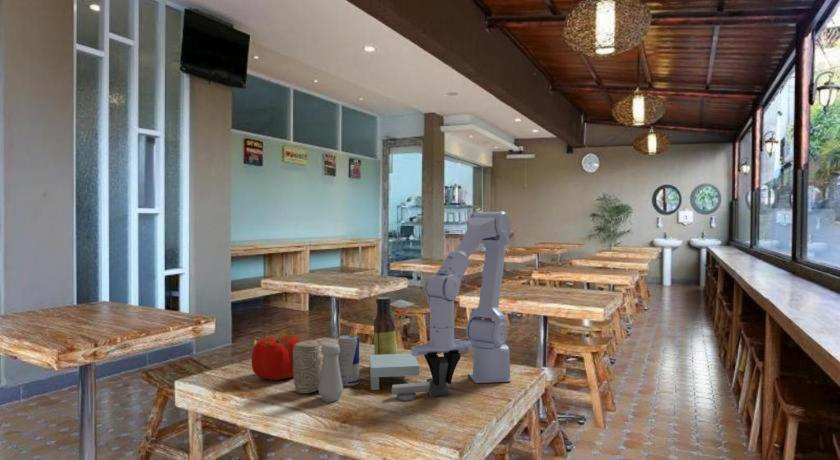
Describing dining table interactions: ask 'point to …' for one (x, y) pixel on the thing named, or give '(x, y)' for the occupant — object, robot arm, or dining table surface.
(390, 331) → the sauce bottle
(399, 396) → the token
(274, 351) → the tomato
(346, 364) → the energy drink
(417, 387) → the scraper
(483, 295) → the robot arm
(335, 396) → the salt shaker
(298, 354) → the carving
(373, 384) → the pale grey angled bracket
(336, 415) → the dining table surface
